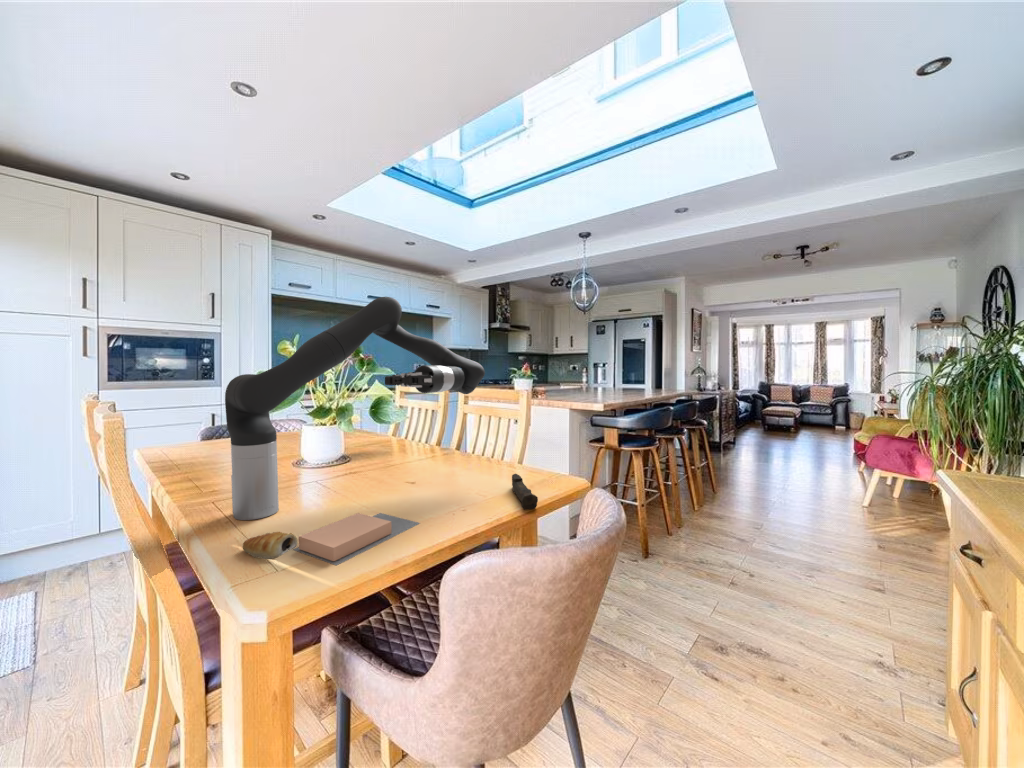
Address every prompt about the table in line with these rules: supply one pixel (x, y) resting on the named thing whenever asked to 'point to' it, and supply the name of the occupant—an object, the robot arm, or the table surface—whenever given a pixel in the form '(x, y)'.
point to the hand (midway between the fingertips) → (387, 380)
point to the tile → (344, 536)
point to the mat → (396, 528)
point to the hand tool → (523, 493)
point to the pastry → (270, 545)
